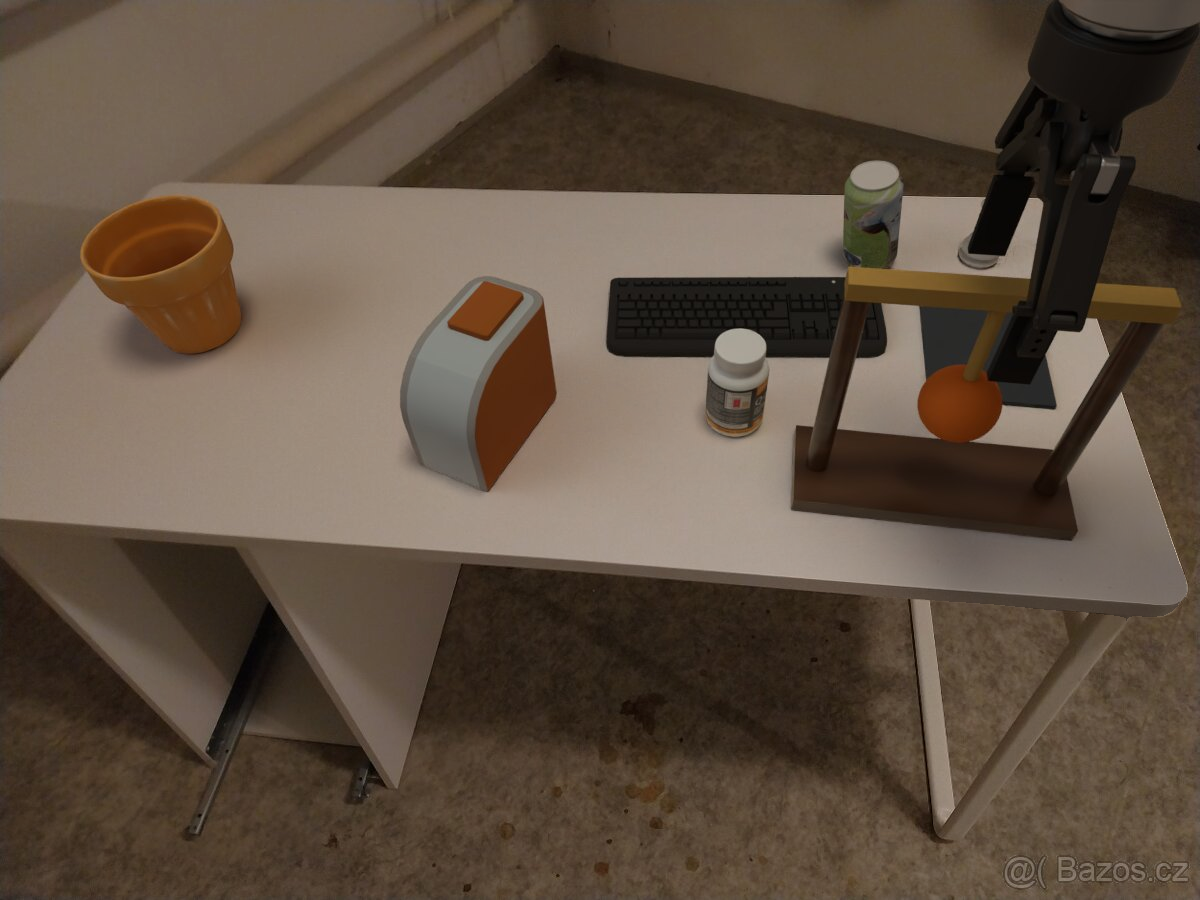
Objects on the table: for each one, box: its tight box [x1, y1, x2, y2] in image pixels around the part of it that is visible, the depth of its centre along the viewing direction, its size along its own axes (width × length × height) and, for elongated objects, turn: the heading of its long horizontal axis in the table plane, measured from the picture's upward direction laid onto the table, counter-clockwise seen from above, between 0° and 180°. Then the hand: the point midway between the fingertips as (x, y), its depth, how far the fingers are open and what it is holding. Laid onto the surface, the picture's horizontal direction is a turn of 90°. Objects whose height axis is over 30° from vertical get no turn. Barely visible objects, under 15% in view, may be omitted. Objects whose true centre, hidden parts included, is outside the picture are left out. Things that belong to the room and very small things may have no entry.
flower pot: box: [79, 194, 242, 355], centre depth 91 cm, size 14×14×13 cm
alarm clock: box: [399, 275, 558, 493], centre depth 79 cm, size 15×8×14 cm, turn 152°
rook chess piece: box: [958, 198, 1000, 269], centre depth 93 cm, size 4×4×8 cm
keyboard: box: [606, 276, 888, 359], centre depth 91 cm, size 30×11×2 cm, turn 87°
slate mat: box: [919, 306, 1058, 410], centre depth 88 cm, size 18×12×1 cm, turn 170°
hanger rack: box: [790, 291, 1165, 542], centre depth 68 cm, size 9×24×22 cm, turn 80°
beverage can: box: [842, 159, 905, 269], centre depth 92 cm, size 6×7×12 cm
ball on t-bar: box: [845, 266, 1183, 443], centre depth 65 cm, size 6×22×16 cm, turn 80°
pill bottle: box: [705, 328, 770, 438], centre depth 79 cm, size 6×6×10 cm
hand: (996, 311), depth 61 cm, fingers open, 13 cm apart
